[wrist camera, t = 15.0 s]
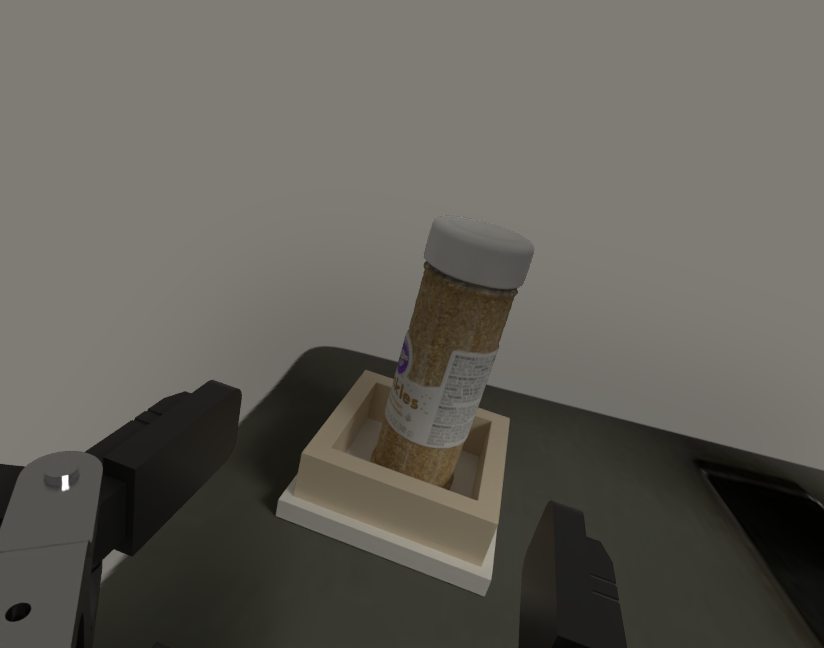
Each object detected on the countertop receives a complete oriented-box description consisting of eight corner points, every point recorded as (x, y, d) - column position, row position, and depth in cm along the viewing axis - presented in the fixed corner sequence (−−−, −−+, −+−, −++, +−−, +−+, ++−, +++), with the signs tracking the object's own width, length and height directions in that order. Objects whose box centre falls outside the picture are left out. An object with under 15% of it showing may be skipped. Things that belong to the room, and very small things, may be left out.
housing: (500, 463, 31) (518, 416, 30) (484, 596, 22) (508, 537, 21) (349, 411, 33) (360, 363, 31) (275, 516, 23) (286, 455, 22)
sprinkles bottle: (357, 450, 28) (416, 206, 23) (429, 443, 30) (499, 220, 25) (388, 512, 24) (467, 238, 19) (468, 500, 26) (559, 251, 21)
